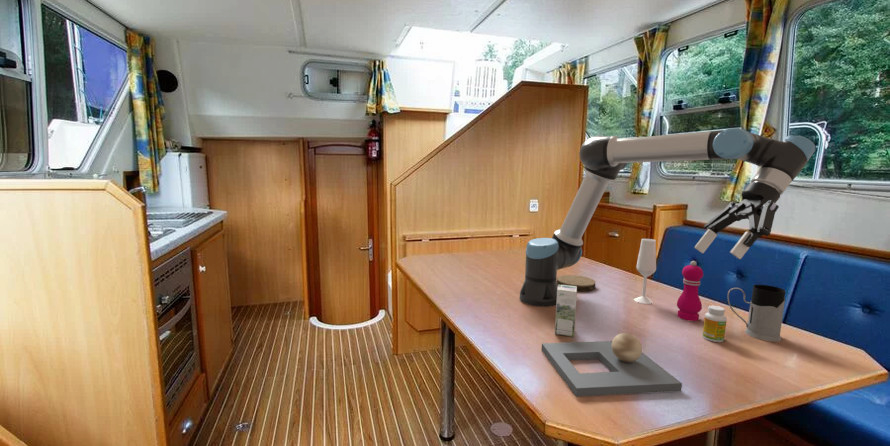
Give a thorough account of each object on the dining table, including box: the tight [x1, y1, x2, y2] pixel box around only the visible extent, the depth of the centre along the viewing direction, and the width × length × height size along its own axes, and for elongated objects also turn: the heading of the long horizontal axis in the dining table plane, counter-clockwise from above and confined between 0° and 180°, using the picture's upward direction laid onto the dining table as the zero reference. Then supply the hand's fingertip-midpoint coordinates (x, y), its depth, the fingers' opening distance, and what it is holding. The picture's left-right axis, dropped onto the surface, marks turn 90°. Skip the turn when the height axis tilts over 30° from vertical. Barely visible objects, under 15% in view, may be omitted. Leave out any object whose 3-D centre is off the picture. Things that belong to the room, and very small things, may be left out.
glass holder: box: [726, 284, 786, 343], centre depth 119 cm, size 9×14×15 cm, turn 58°
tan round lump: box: [611, 332, 643, 362], centre depth 97 cm, size 7×7×7 cm
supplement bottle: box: [702, 305, 727, 343], centre depth 115 cm, size 5×5×10 cm
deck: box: [541, 340, 683, 397], centre depth 97 cm, size 25×22×2 cm
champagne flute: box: [633, 238, 657, 305], centre depth 147 cm, size 7×7×24 cm
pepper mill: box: [676, 260, 704, 322], centre depth 130 cm, size 7×7×20 cm
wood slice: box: [556, 274, 596, 293], centre depth 166 cm, size 16×16×3 cm
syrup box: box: [554, 285, 578, 338], centre depth 118 cm, size 6×6×14 cm
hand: (715, 252), depth 102 cm, fingers open, 13 cm apart
